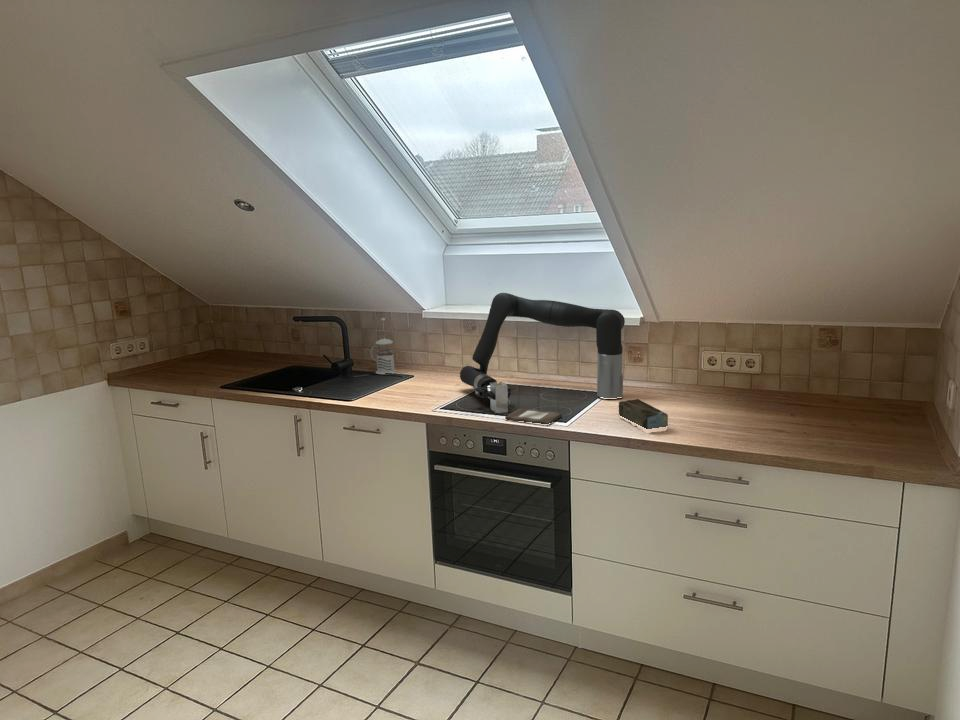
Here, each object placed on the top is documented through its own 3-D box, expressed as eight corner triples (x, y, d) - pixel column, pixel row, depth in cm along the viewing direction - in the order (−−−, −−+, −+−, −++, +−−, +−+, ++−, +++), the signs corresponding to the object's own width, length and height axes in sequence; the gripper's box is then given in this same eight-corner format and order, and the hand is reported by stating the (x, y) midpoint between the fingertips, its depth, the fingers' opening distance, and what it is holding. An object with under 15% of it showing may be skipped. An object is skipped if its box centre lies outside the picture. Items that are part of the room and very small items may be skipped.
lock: (502, 407, 252) (501, 379, 250) (507, 412, 246) (507, 383, 244) (490, 409, 250) (489, 381, 248) (496, 413, 245) (495, 384, 243)
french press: (392, 374, 309) (389, 319, 304) (368, 373, 311) (365, 319, 306) (399, 369, 318) (396, 316, 313) (375, 369, 321) (372, 316, 315)
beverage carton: (646, 434, 219) (647, 414, 217) (617, 418, 237) (617, 399, 235) (668, 431, 221) (669, 412, 220) (637, 415, 239) (638, 397, 238)
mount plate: (505, 420, 237) (505, 416, 237) (520, 411, 247) (520, 407, 247) (548, 426, 229) (548, 422, 229) (561, 416, 239) (561, 412, 239)
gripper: (467, 377, 257) (482, 388, 242) (503, 374, 262) (520, 384, 246) (468, 397, 259) (482, 408, 243) (504, 393, 263) (520, 404, 247)
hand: (501, 396), depth 245 cm, fingers closed on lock, 4 cm apart
